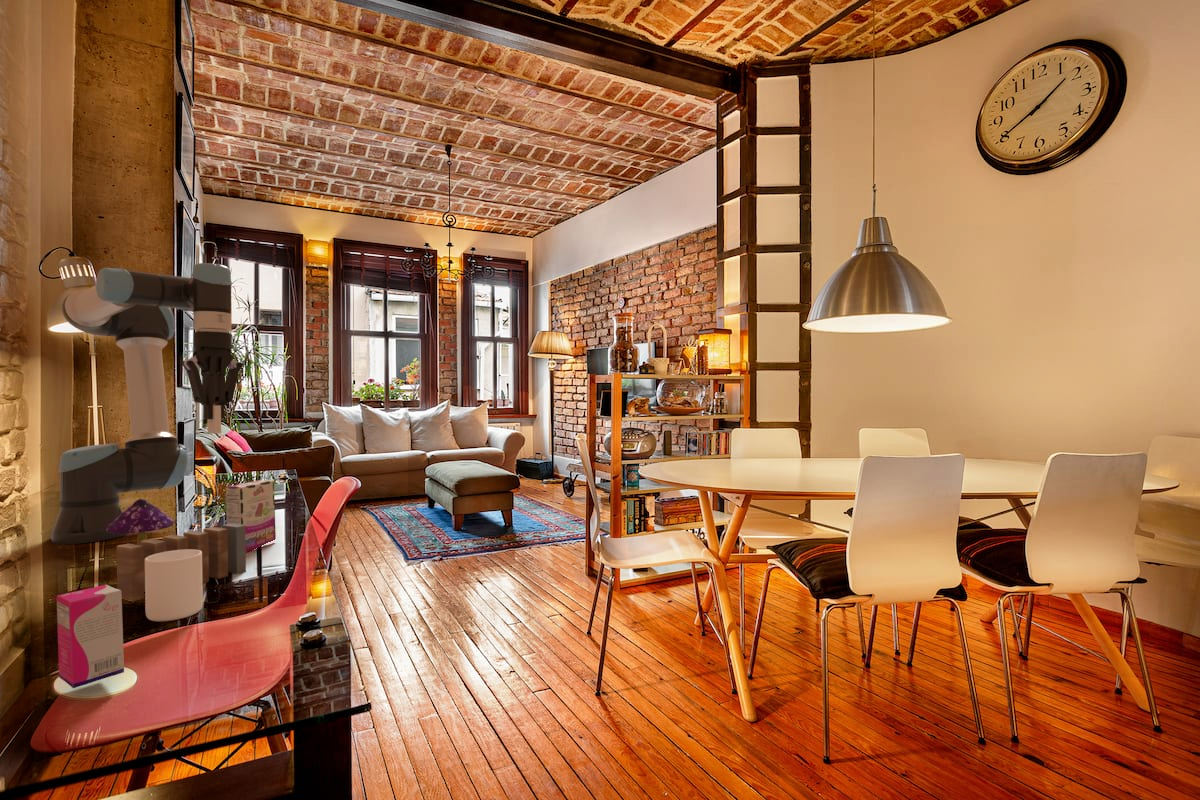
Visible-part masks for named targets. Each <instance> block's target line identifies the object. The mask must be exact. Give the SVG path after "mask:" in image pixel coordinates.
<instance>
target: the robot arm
mask: <svg viewBox="0 0 1200 800" xmlns="http://www.w3.org/2000/svg"><path fill="white" fill-rule="evenodd" d="M232 284H233V281H232V274H231V269H230V268H229V267H228V266H226V265H224V264H223V265H222V264H219V263H209V262H208V263H207V262H206V263H205V262H200V263H196V264H193V267H192V272H191V277H186V276H185V277H184V276H179V275H170V274H169V275H168V274H160V273H153V272H144V271H140V270H139V271H138V270H131V269H125V268H121V267H119V268H118V267H117V268H114V267H103V268H101V269H99V271H98V274H97V275H96V280H95V285H94V286H92V287H90V288H85V289H83V288H82V289H77V290H75V291H73V292H71V293H70V294H68V295H67V296H66V297H65V298H64V299H63V301H62V304H61V312H62V315H63V317H64V319H65V321H67V322H68V324H70V325H71V326H73V327H74V328H76V329H77V330H79V331H82V332H84V333H86V334H90V335H94V336H100V337H113V338H115V345H116V346H117V347H118V348H120V349H121V350H122V351H123V357H124V358H123V359H124V367H125V368H124V370H125V381H126V392H127V402H128V403H127V404H128V413H129V415H128V416H129V426H130V437H128V438H127V439H126V440H125V442H124V448H120V446H119V444H118V443H104V444H93V445H87V446H81V447H76V448H72V449H68V450H66V451H64V452H63V453H62V454H61V455H60V457H59V466H58V470H57V471H58V473H59V503H60V504H59V506H60V508H59V512H58V514H57V517H56V521H55V523H54V526H53V528H52V530H51V534H50V535H51V537H50V538H51V539H50V540H51V542H52V543H53V544H58V545H74V544H75V545H76V544H86V543H96V542H101V541H102V542H103V541H108V540H112V539H117V538H120V537H124V536H127V534H113V533H109V532H108V531H107V530H106V528H107V527H108V526H109V525H110V524H111V523H112V522H113V521H114V520H115V519H116V518H117V517H118V516H119V515H121V514H122V513H123V512H124V511H123V509H122V508H121V505H120V494H122V493H132V492H142V491H150V490H163V489H167V488H172V487H173V488H174V487H177V486H178V485H180V484H181V482H182V481H184V480H183V479H184V478H185V475H186V473H187V470H188V463H189V461H188V460H189V457H188V456H189V454H188V450H187V447H186V446H185V445H184V444H181V443H179V444H178V438H177V436H175V435H174V434H172V433H171V432H170V422H169V412H168V403H167V402H168V401H167V400H168V399H167V390H166V382H165V381H166V380H165V371H164V361H163V360H164V358H163V349H164V348H165V347H166V346H167V345H168V340H171V339H172V338H173V336H174V334H175V327H176V325H175V324H176V323H175V317H174V313H173V311H172V309H179V310H181V311H184V312H193V313H192V314H193V319H192V320H193V324H192V325H193V329H194V333H193V347H194V352H193V353H192V357H191V358H189V359H187V360H183V361H182V362H181V365H182V366H183V368H184V369H185V371H186V373H187V377H188V381H189V384H190V385H189V386H190V388H191V393H192V396H193V401H194V402H195V403H197V404H200V405H202V406H203V417H204V420H207V434H211V435H212V434H213V435H217V434H222V419H225V406H226V405H228V404H229V403H232V402H233V400H234V396H235V391H236V386H237V384H238V383H237V382H238V378H239V373H240V371H241V370H242V368H243V366H244V364H243V363H242V362H238V361H237V360H235V359H234V355H233V354H232V348H233V335H232V333H230V332H231V331H232V329H233V328H232ZM195 330H196V331H195ZM198 367H199V368H200V371H199V369H198ZM227 368H228V371H227Z"/></svg>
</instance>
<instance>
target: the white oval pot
mask: <svg viewBox="0 0 1200 800" xmlns="http://www.w3.org/2000/svg"><path fill="white" fill-rule="evenodd" d="M203 595H204V594H203V583H202V551H200V550H194V549H185V550H174V551H167V552H162V553H157V554H154V555H151V556H148V557H146V558H145V593H144V600H145V601H144V602H145V603H144V605H145V607H144V608H145V609H144V610H145V611H144V612H145V616H146V618H147V619H148V620H149V621H150V622H151V621H152V622H169V621H175V620H180V619H184V618H189V617H191V616H194V615H195V614H198V613H199V612H200V611H201V610H202V608H203V604H204V603H203V600H204V599H203Z"/></svg>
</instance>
